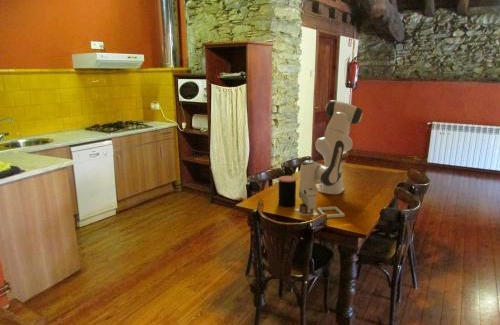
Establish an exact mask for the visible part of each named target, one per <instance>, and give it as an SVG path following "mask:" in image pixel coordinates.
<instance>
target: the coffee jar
mask: <svg viewBox="0 0 500 325" xmlns="http://www.w3.org/2000/svg"><path fill="white" fill-rule="evenodd" d="M278 180H279V181H278V206H280V207H283V208H292V207H295V206H296V201H297V200H296V198H297V197H296V196H297V193H296V192H297V177H295V176H292V175H291V176H290V175H283V176H282V175H281V176H279V177H278Z"/></svg>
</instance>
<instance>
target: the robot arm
mask: <svg viewBox="0 0 500 325" xmlns="http://www.w3.org/2000/svg"><path fill="white" fill-rule="evenodd" d="M324 109H325V110H324V111H325V112H324V113H325V115H326V116H327V117H328V119H330V120H329V122H328V124H327V126H326V129H325V132H324V136H322V137H318V138H317V139H316V141H315V143H314V144H315V146H314V147H315V149H316V151H317V152H318V153H319V154H320V155H321V156H322V158H323V160H324V162H323V163H324V164H323V163H318V162H316V161H314V160H313V159H306V160H304V161H302V162H301V163H300V164H301V165H300V168H299V169H300V170H299V178H300V179H299V180H300V181H299V190H298V197H299V198H300V200H301V204H303V203H305V204H306V205H307V207H308V209H307V212H308V213H310V212H311V208H314V209H315V208H316V206H317V196H318V193H323V194H326V195H327V194H329V195H339V194H342V192H344V191H345V188H344V186H343V182H344V180H343V178H342V158H343V155H344V152H345V153H346V152H348V151H351V150H352V148H353V144H354V143H353V139H352V138H351V137H350V136H349V134H348V131H349V127H350V125H358V124H359V123H360V122H361V121H362V119H363V109H362V108H361V107H359V106H356V105H353V104H350V103H348V102H347V103H346V102H344V101H337V100H335V99H334V100H333V99H331V100H329V101H328V103H327V104H326V105H325V108H324ZM316 182H317V183H316Z"/></svg>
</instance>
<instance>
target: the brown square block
mask: <svg viewBox="0 0 500 325" xmlns="http://www.w3.org/2000/svg"><path fill="white" fill-rule="evenodd" d="M299 208H300V211H301V212H302V214H310V213H313V210H315V208H311V212H310V213H308V212H307V209H308V207H305V203H303V204H302V203H299Z"/></svg>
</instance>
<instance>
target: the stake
mask: <svg viewBox="0 0 500 325" xmlns="http://www.w3.org/2000/svg"><path fill="white" fill-rule="evenodd" d="M305 207H307V205H306V204H305ZM294 210H295V211H296V213H297V214H298V215H299V217H305V216H306V217H307V216H317V215H319V214H320V213H319V212H318V211H317V210H315V209H314V210H313V213H310V214H302V212H301V211H300V207H299V208H294Z"/></svg>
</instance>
